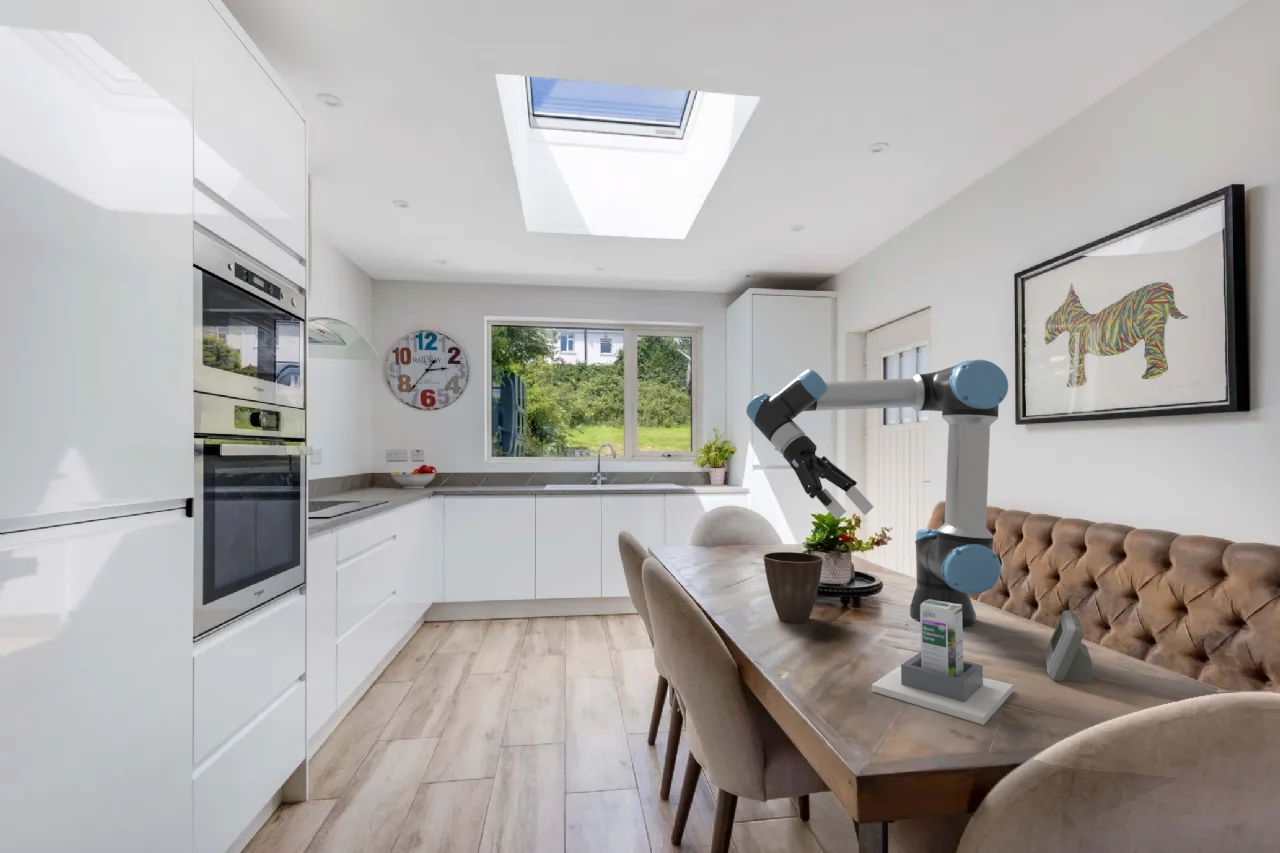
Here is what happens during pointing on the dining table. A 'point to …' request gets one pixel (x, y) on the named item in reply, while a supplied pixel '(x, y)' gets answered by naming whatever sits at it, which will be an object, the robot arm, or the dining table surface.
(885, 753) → the dining table surface
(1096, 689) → the dining table surface
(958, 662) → the syrup box
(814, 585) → the plant pot
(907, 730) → the dining table surface
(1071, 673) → the digital clock
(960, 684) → the socket dock
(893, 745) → the dining table surface
